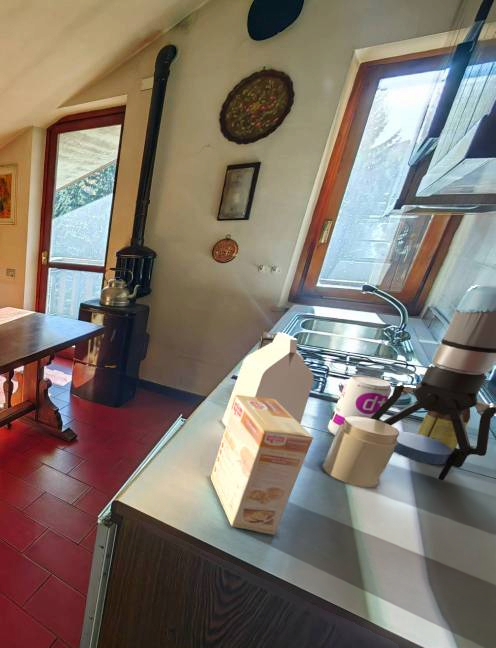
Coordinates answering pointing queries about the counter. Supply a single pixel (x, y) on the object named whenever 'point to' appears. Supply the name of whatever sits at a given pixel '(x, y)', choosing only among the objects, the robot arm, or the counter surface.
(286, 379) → the milk
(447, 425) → the sauce bottle
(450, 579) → the counter surface
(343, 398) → the supplement can
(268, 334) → the coffee box
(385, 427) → the jar
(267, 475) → the coffeecake box
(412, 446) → the lid
